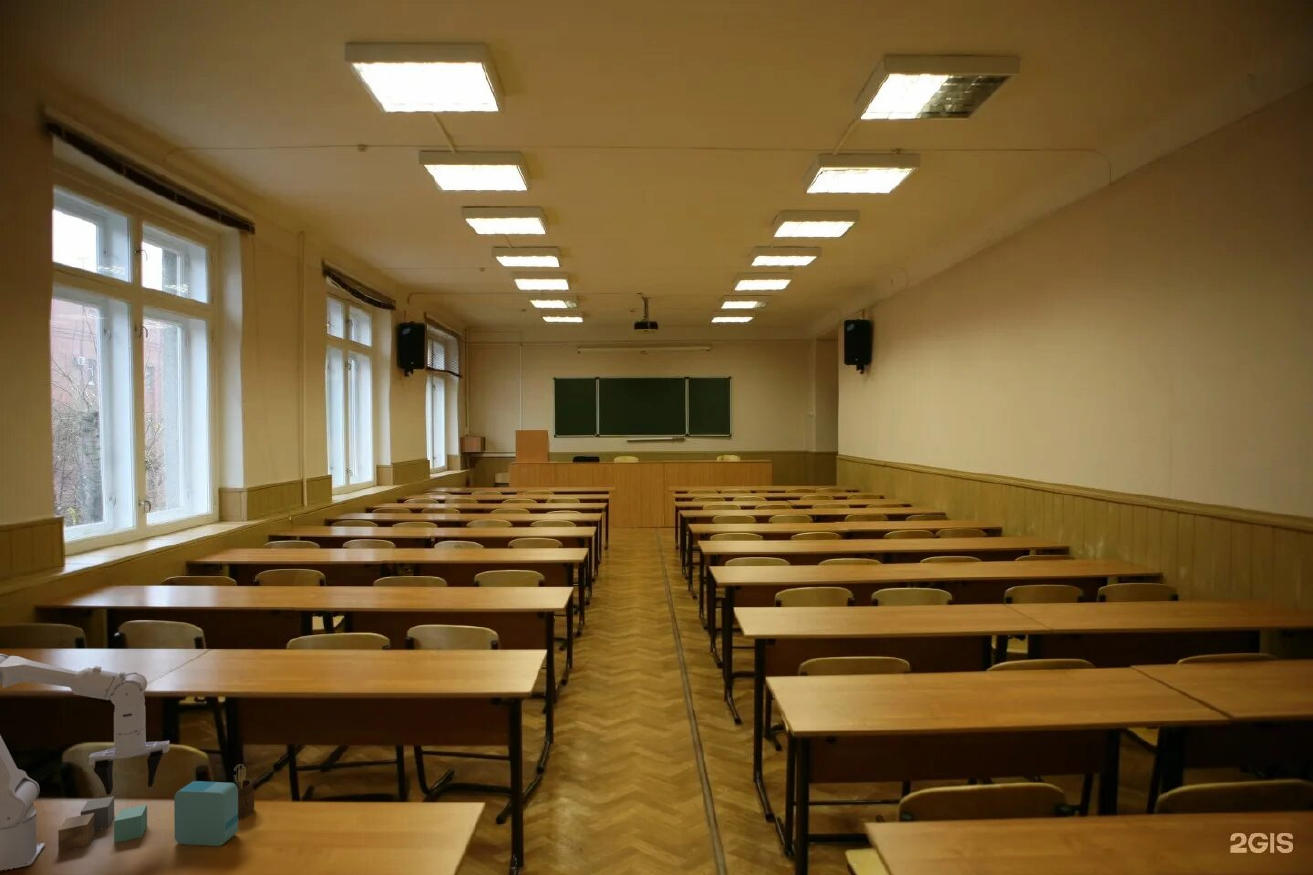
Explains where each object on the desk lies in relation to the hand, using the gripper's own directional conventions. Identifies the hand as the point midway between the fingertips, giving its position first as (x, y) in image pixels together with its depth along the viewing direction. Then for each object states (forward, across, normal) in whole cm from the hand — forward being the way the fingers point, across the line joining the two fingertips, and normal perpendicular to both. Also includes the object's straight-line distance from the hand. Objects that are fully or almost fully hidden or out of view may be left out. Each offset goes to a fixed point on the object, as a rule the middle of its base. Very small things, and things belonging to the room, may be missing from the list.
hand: (130, 788), depth 155 cm
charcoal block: (+10, +8, -8) cm, 15 cm away
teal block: (+10, 0, 0) cm, 10 cm away
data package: (+11, -16, +10) cm, 22 cm away
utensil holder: (+11, -22, +1) cm, 24 cm away
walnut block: (+10, +10, -1) cm, 15 cm away
